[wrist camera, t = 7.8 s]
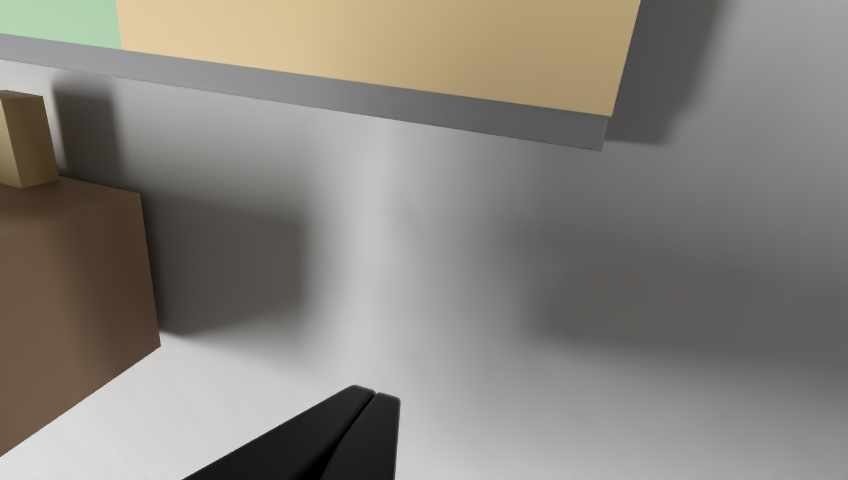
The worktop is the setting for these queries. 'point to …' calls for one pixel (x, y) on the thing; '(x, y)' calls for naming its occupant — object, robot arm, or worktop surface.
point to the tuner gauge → (356, 55)
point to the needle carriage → (63, 278)
